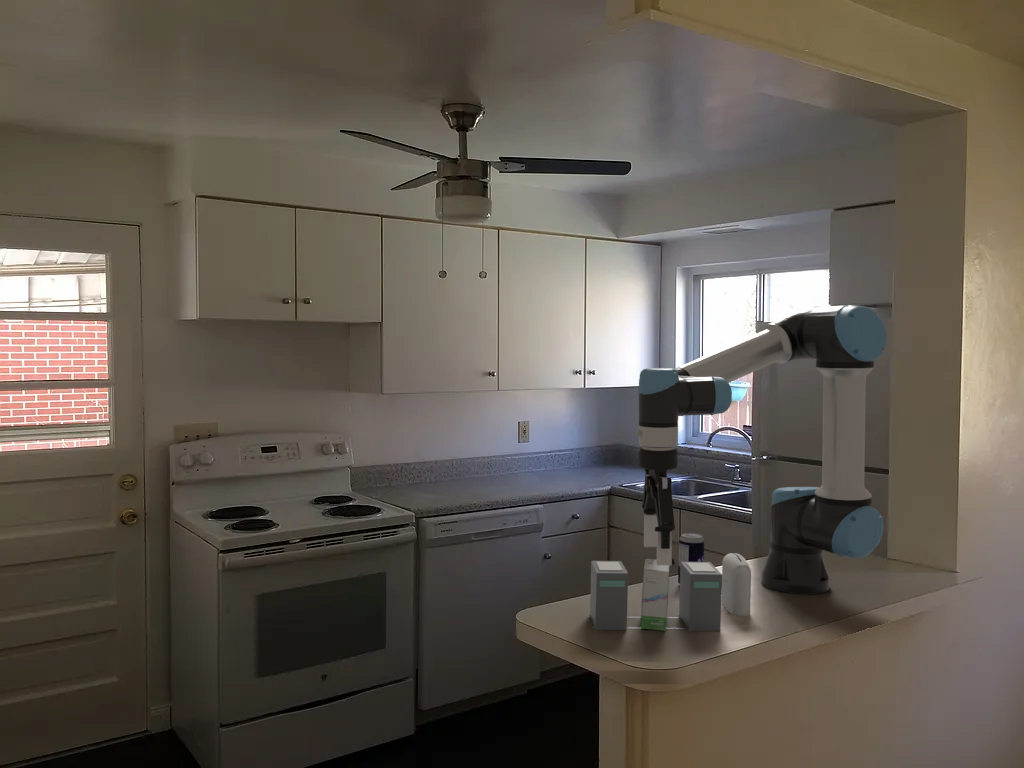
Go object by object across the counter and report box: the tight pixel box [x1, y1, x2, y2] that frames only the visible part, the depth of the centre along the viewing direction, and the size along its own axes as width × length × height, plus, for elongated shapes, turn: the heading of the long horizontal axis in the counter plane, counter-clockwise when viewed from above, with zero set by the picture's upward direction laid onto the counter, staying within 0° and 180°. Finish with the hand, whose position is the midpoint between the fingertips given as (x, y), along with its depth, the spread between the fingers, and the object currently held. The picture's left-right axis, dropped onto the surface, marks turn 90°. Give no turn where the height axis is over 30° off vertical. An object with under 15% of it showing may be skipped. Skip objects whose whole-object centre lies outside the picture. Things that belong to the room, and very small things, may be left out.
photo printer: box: [721, 552, 752, 617], centre depth 178 cm, size 10×4×12 cm, turn 0°
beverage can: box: [677, 532, 705, 585], centre depth 197 cm, size 6×6×12 cm
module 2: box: [678, 561, 722, 632], centre depth 168 cm, size 6×9×11 cm, turn 1°
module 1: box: [589, 560, 629, 631], centre depth 167 cm, size 6×9×11 cm, turn 1°
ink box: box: [640, 558, 670, 632], centre depth 167 cm, size 9×5×12 cm, turn 169°
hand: (657, 555), depth 167 cm, fingers open, 13 cm apart
